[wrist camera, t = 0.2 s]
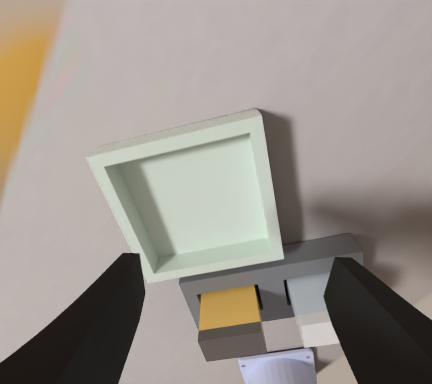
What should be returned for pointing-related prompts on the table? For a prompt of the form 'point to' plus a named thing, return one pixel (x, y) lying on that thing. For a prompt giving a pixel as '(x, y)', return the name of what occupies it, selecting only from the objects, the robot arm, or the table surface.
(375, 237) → the table surface
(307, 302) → the block
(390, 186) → the table surface
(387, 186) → the table surface
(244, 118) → the parts tray
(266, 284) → the block
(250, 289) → the yellow rectangular block
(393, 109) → the table surface
